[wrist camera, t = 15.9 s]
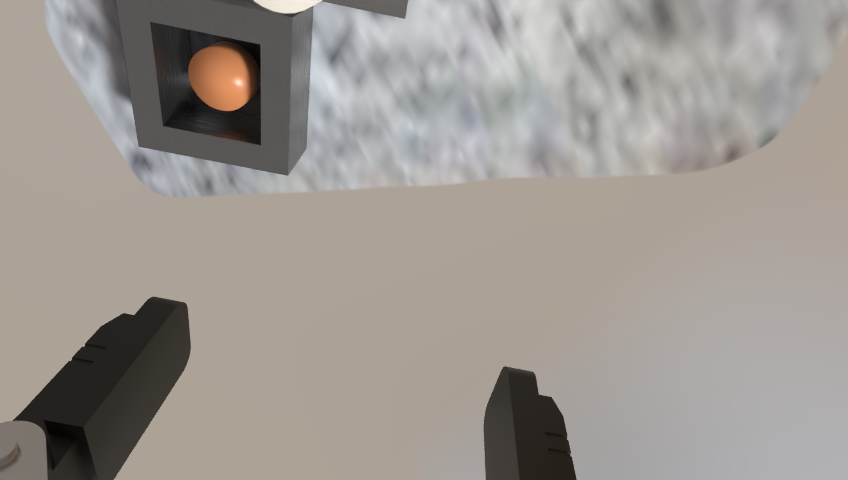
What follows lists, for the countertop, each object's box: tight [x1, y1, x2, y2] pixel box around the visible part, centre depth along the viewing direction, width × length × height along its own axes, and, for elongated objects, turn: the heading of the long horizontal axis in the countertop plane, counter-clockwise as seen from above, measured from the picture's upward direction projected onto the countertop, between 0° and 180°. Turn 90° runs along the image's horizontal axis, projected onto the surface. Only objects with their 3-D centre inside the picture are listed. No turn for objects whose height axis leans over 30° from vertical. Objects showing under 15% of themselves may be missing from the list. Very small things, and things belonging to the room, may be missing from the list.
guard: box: [116, 0, 313, 175], centre depth 35 cm, size 11×11×5 cm
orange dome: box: [188, 41, 261, 111], centre depth 35 cm, size 4×4×2 cm
